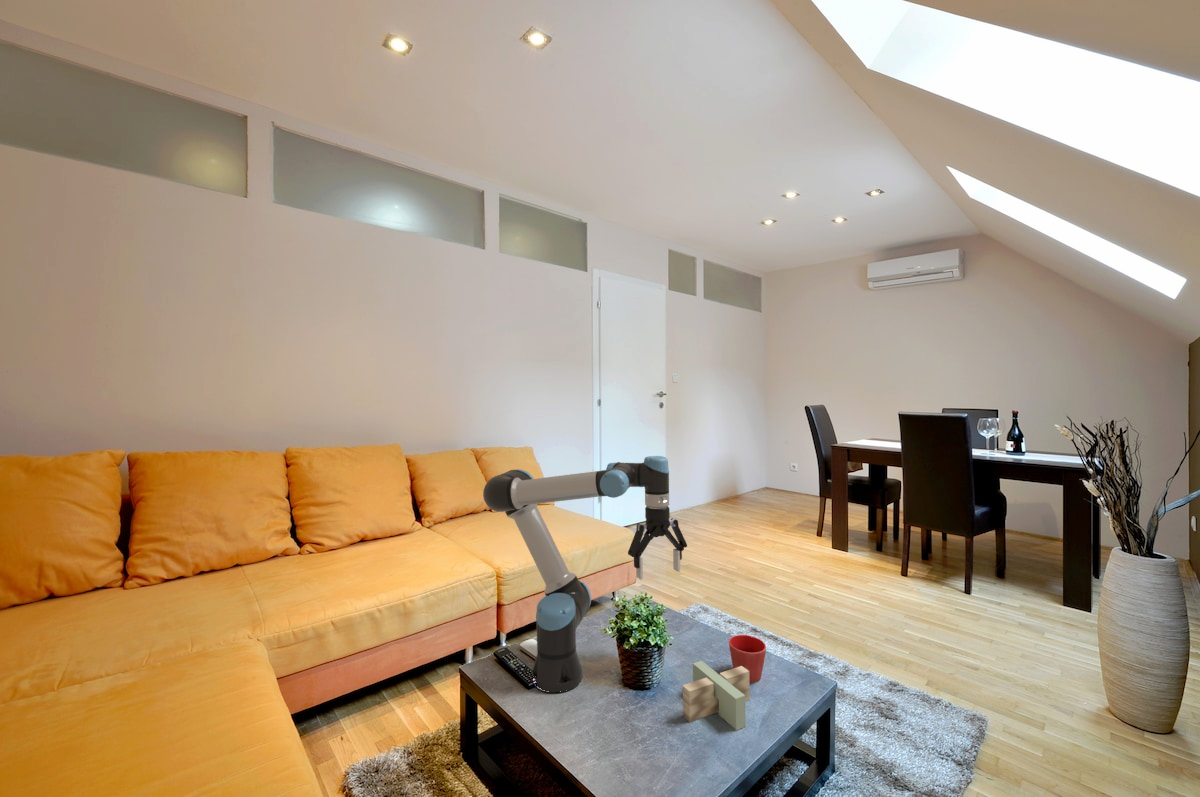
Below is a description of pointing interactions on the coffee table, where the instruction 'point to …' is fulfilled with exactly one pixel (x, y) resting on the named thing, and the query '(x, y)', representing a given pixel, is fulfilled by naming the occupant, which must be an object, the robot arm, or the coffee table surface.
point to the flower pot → (748, 655)
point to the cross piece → (724, 695)
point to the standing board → (711, 693)
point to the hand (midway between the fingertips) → (658, 574)
